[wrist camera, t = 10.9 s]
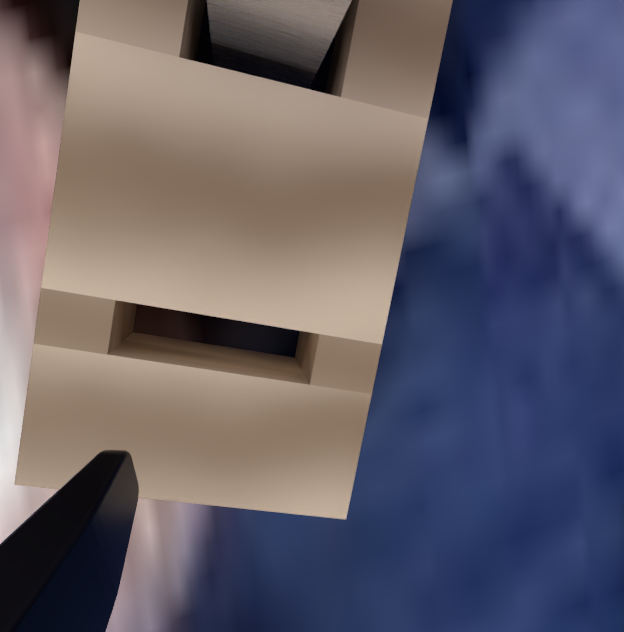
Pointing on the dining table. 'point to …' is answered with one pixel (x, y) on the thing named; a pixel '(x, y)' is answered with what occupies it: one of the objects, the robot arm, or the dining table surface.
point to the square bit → (274, 36)
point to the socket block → (225, 254)
